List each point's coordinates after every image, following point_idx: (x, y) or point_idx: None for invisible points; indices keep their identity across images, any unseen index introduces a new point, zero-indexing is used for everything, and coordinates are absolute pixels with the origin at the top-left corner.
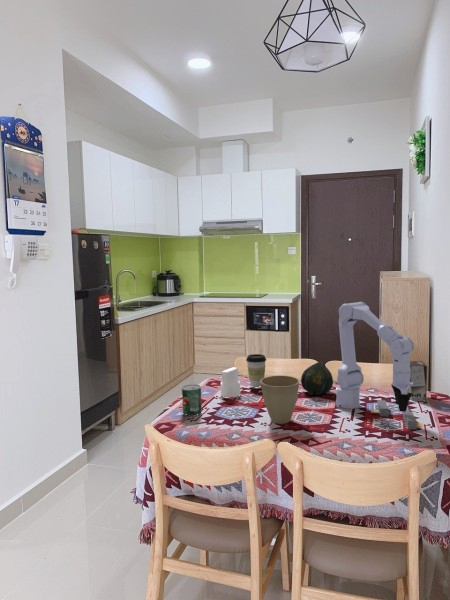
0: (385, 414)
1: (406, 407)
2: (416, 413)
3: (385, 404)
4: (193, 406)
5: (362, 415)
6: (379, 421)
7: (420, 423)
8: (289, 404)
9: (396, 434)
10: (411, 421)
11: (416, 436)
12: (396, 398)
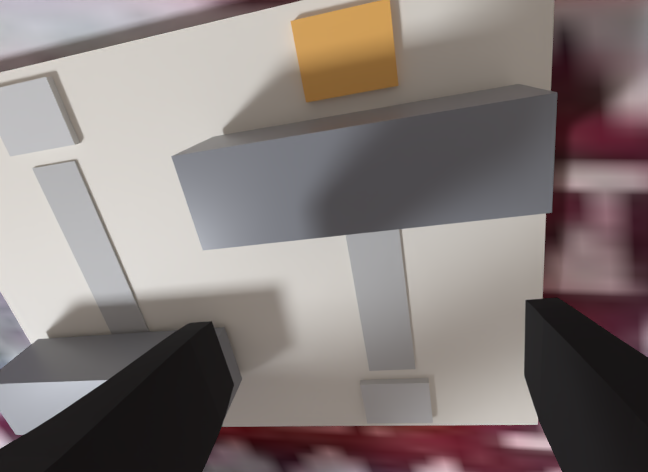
0: (224, 356)
1: (613, 342)
2: (24, 87)
3: (89, 390)
4: None
5: (222, 445)
6: (366, 388)
7: (307, 40)
8: None
9: (563, 263)
10: (552, 166)
11: (605, 84)
12: (196, 465)
